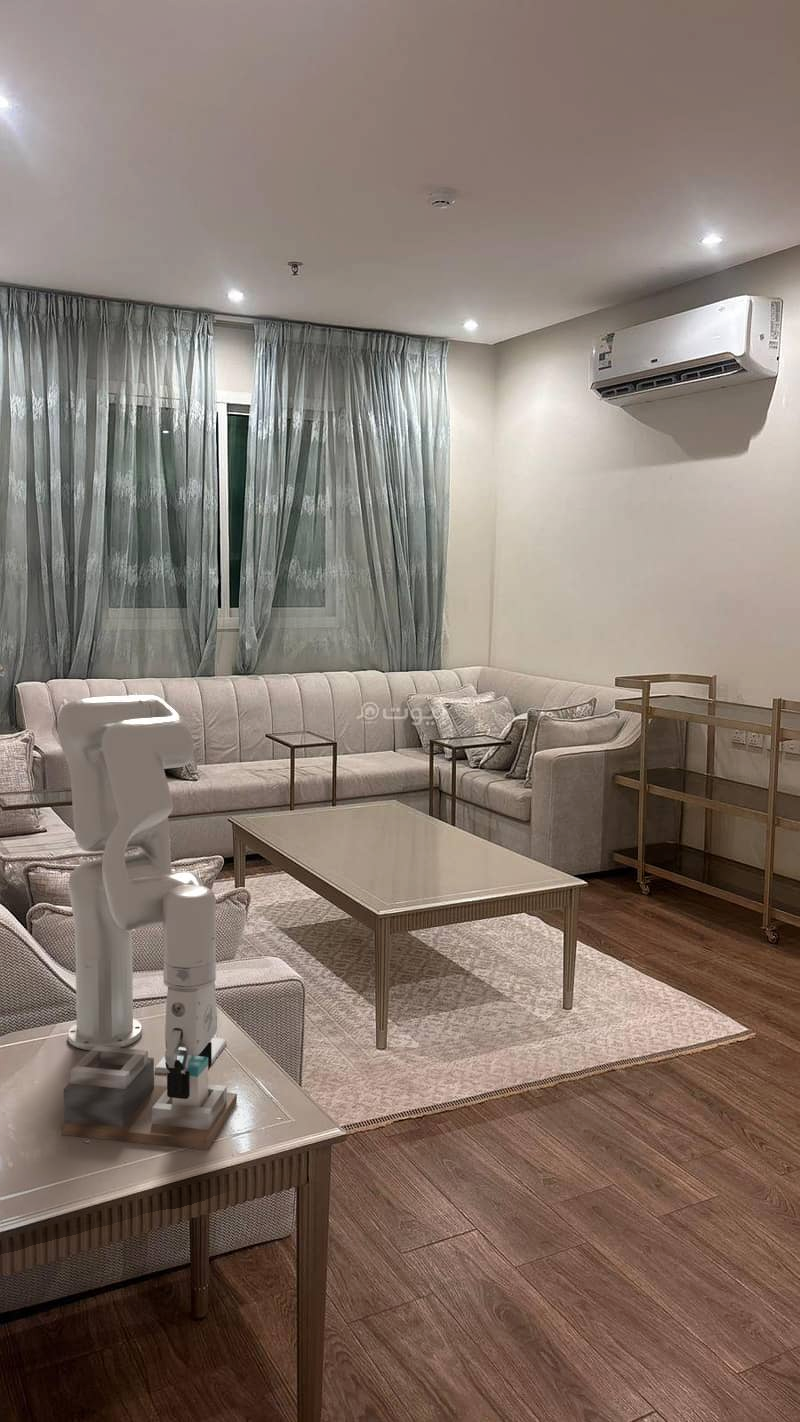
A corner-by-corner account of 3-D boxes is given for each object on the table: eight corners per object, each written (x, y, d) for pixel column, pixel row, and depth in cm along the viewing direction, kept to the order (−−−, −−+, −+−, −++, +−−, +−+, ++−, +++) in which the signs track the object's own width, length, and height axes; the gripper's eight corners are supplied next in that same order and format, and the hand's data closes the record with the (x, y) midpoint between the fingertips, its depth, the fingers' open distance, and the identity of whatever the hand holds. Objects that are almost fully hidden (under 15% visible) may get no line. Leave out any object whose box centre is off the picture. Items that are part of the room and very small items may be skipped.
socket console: (61, 1134, 157) (60, 1079, 156) (101, 1089, 171) (101, 1038, 170) (207, 1150, 154) (207, 1093, 153) (236, 1102, 167) (236, 1050, 166)
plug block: (172, 1117, 160) (172, 1065, 159) (183, 1104, 164) (183, 1054, 162) (197, 1120, 159) (197, 1069, 158) (208, 1107, 163) (208, 1057, 162)
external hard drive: (226, 1047, 188) (202, 1080, 176) (180, 1043, 189) (154, 1075, 177) (226, 1038, 188) (202, 1070, 175) (181, 1034, 189) (154, 1066, 177)
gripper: (194, 995, 149) (194, 1112, 152) (232, 952, 166) (232, 1058, 168) (142, 991, 150) (143, 1107, 153) (185, 948, 167) (185, 1053, 170)
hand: (190, 1081), depth 161 cm, fingers open, 9 cm apart
